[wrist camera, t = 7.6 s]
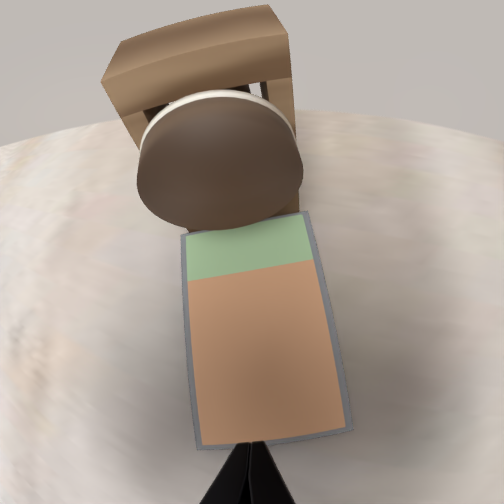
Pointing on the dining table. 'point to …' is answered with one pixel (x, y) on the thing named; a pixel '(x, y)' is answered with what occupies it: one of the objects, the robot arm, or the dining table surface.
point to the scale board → (261, 336)
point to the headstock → (202, 67)
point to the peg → (218, 161)
